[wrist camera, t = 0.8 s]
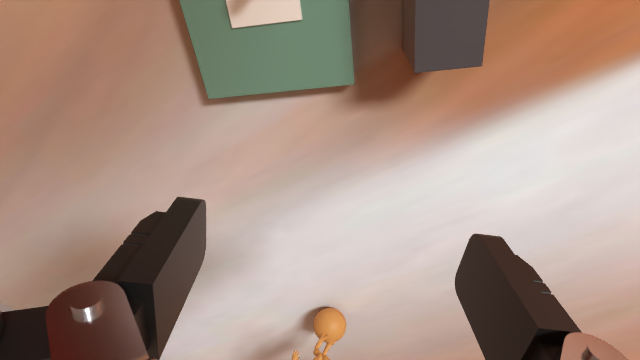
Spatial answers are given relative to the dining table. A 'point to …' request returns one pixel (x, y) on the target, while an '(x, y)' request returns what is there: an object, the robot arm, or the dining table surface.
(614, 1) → the dining table surface
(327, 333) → the figurine
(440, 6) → the block
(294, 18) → the board
